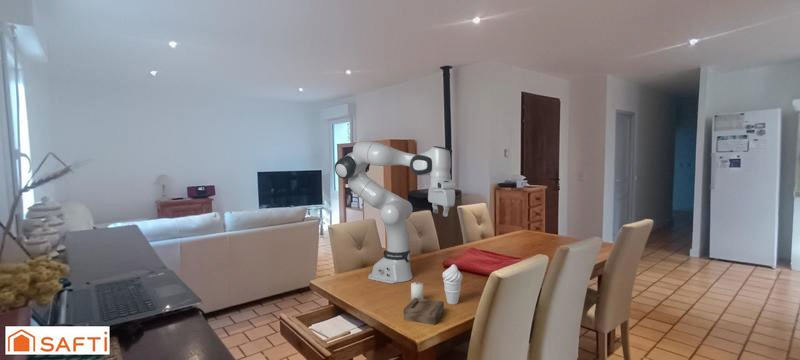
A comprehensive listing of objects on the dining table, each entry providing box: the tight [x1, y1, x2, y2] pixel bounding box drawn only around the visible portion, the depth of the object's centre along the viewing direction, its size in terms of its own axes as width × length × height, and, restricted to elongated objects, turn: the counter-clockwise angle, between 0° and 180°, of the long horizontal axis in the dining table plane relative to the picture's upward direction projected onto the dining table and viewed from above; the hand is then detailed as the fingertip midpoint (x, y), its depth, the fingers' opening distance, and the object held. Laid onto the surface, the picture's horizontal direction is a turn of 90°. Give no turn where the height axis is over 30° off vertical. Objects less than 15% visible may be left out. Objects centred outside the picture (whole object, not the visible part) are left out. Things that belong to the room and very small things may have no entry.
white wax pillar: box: [410, 281, 424, 302], centre depth 152 cm, size 5×5×8 cm
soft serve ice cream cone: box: [441, 263, 464, 305], centre depth 151 cm, size 8×8×16 cm
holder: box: [403, 298, 445, 325], centre depth 139 cm, size 12×12×4 cm
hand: (440, 214), depth 161 cm, fingers open, 8 cm apart
